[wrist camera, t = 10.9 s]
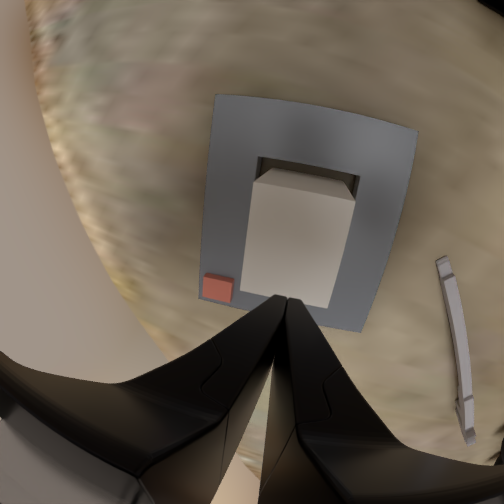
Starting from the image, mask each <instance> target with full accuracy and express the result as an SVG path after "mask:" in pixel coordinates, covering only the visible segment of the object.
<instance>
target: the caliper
mask: <svg viewBox="0 0 504 504" xmlns="http://www.w3.org/2000/svg"><path fill="white" fill-rule="evenodd" d="M436 265H437V269H438V272H439V275H440V276H439V278H440V282H441V287H442V292H443V296H444V300H445V305H446V309H447V313H448V318H449V323H450V328H451V333H452V338H453V344H454V350H455V357H456V364H457V372H458V381H459V386H458V397H459V399H458V400H455V403H456V406H457V408H456V414H457V417H458V421H459V424H460V428H461V431H462V434H463V437H464V440H465V442H466V444H467V447H468V446H470V445H472V444H474V443H476V440H475V436H476V434H475V431H474V428H473V426H474V397H473V395H472V379H471V366H470V356H469V348H468V340H467V333H466V327H465V321H464V315H463V310H462V305H461V300H460V295H459V291H458V286H457V282H456V278H455V275H454V274H453V273H452V269H451V265H450V262H449V259H448V257H447V256H445V257H443V258H441V259H438V260H436Z"/></svg>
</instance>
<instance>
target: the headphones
mask: <svg viewBox="0 0 504 504" xmlns="http://www.w3.org/2000/svg"><path fill="white" fill-rule="evenodd" d="M503 464H504V438H503V441H502V446H501V455H500V456H499V457H498V459H497V460H496V462H495V464H494V466H497V465H503Z"/></svg>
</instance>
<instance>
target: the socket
mask: <svg viewBox="0 0 504 504" xmlns="http://www.w3.org/2000/svg"><path fill="white" fill-rule="evenodd" d="M418 132H419V131H416V130H413V129H410V128H407V127H403V126H400V125H397V124H393V123H390V122H386V121H383V120H379V119H375V118H371V117H367V116H363V115H359V114H355V113H351V112H346V111H342V110H337V109H332V108H327V107H322V106H316V105H311V104H305V103H298V102H292V101H285V100H277V99H269V98H260V97H250V96H239V95H224V94H215V102H214V110H213V118H212V127H211V136H210V145H209V154H208V164H207V175H206V186H205V198H204V211H203V224H202V239H201V256H200V275H199V299H202V300H206V301H210V302H214V303H218V304H222V305H226V306H230V307H235V308H239V309H243V310H248V311H251V310H253V309H254V308H256V307H257V306H258V305H260V304H261V303H263V302H264V301H265V300H267V299H268V298H270V297H267V296H263V295H258V294H254V293H249V292H245V291H240V284H241V276H242V268H243V260H244V252H245V244H246V236H247V228H248V221H249V213H250V205H251V197H252V189H253V182H254V181H255V180H257V179H258V178H259V175H260V168H261V161H262V157H266V158H272V159H278V160H284V161H290V162H296V163H301V164H307V165H312V166H317V167H322V168H327V169H332V170H336V171H341V172H346V173H350V174H354V175H356V180H355V185H354V189H353V194H352V196H353V198H354V200H355V201H356V202H355V207H354V211H353V216H352V220H351V224H350V228H349V232H348V236H347V240H346V244H345V248H344V252H343V256H342V259H341V263H340V267H339V270H338V274H337V278H336V281H335V285H334V288H333V291H332V295H331V298H330V301H329V305H328V308H321V307H316V306H311V305H306V304H304V305H305V306H306V308H307V309H308V311H309V313H310V314H311V316H312V317H313V319H314V321H315V322H316V324H317V325H320V326H325V327H331V328H336V329H342V330H347V331H353V332H359V333H361V331H362V329H363V326H364V324H365V321H366V319H367V316H368V314H369V311H370V308H371V306H372V303H373V301H374V298H375V295H376V292H377V290H378V287H379V284H380V281H381V278H382V275H383V272H384V270H385V266H386V263H387V260H388V257H389V254H390V251H391V248H392V244H393V241H394V238H395V234H396V231H397V227H398V224H399V220H400V216H401V212H402V209H403V205H404V201H405V196H406V192H407V188H408V184H409V179H410V175H411V170H412V165H413V160H414V155H415V149H416V144H417V138H418Z"/></svg>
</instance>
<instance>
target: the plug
mask: <svg viewBox="0 0 504 504" xmlns="http://www.w3.org/2000/svg"><path fill="white" fill-rule="evenodd" d="M355 202H356V201H355V200H354V198H353V196H352V195H351V193H350V191H349V190H348V188H347V186H346V185H345V183H344V181H341V180H337V179H332V178H327V177H322V176H317V175H312V174H307V173H302V172H296V171H291V170H285V169H279V168H271V169H270V170H269V171H267V172H266V173H265V174H263V175H262V176H261V177H259V178H258V179H257V180H255V181H254V182H253V189H252V197H251V205H250V213H249V221H248V228H247V236H246V244H245V252H244V260H243V268H242V276H241V284H240V291H245V292H249V293H254V294H258V295H263V296H267V297H271V296H272V295H274V294H277V295H282V296H286V297H287V299H288V298H289V297H292V298H296V299H301V300H302V301H303V303H304V304H306V305H311V306H316V307H321V308H328V305H329V301H330V298H331V295H332V291H333V288H334V285H335V281H336V278H337V274H338V270H339V267H340V263H341V259H342V256H343V252H344V248H345V244H346V240H347V236H348V232H349V228H350V224H351V220H352V216H353V211H354V207H355Z"/></svg>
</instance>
